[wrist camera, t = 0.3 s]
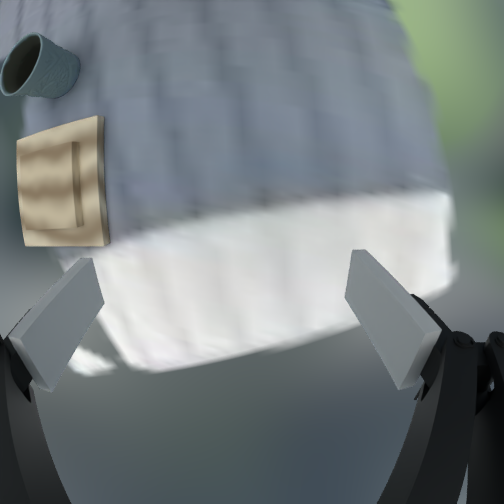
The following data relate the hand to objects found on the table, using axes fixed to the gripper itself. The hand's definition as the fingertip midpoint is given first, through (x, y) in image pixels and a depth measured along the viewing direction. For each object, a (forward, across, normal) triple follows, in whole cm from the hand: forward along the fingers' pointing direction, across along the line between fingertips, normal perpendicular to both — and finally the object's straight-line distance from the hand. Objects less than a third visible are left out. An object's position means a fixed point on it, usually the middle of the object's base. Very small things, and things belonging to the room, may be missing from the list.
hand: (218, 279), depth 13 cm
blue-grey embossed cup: (+30, -29, +22) cm, 47 cm away
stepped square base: (+28, -29, +2) cm, 41 cm away
